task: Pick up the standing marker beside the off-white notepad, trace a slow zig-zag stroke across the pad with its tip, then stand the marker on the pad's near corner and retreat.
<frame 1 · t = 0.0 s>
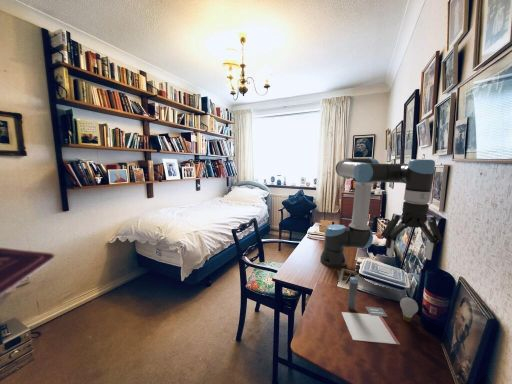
hand: (408, 257, 81), 28 cm above the table, fingers open, 13 cm apart
word card: (376, 312, 91), on the table
notepad: (367, 327, 83), on the table
marker: (351, 308, 93), on the table
light bulb: (406, 321, 87), on the table
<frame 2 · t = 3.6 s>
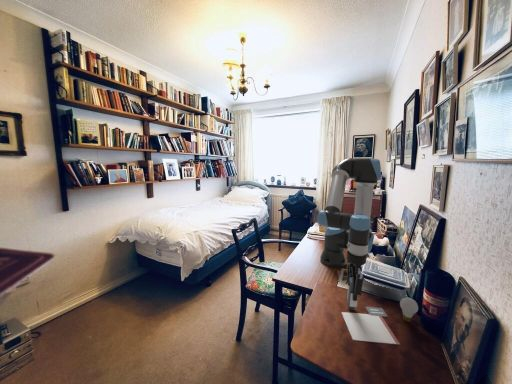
hand: (351, 303, 93), 3 cm above the table, fingers closed on marker, 3 cm apart
marker: (351, 308, 93), on the table, touching gripper
everything else where it was.
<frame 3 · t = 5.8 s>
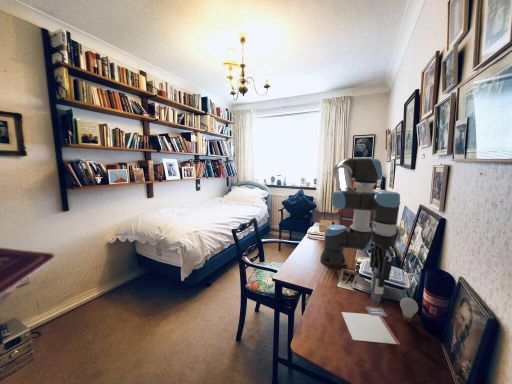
hand: (376, 290, 83), 14 cm above the table, fingers closed on marker, 3 cm apart
marker: (375, 302, 84), point 9 cm above the table, touching gripper
everything else where it was.
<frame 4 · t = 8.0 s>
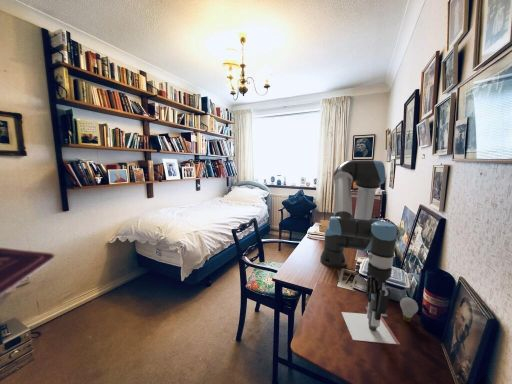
hand: (372, 321, 82), 3 cm above the table, fingers closed on marker, 3 cm apart
marker: (372, 328, 82), resting on notepad, touching gripper
everything else where it was.
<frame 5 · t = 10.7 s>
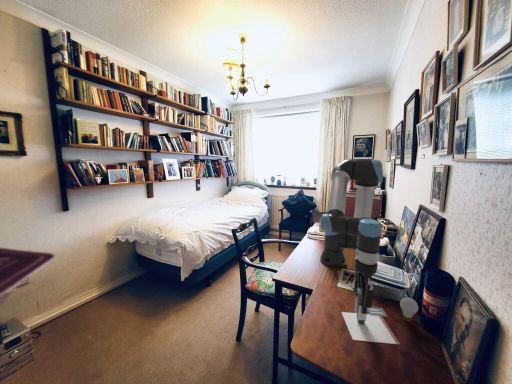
hand: (360, 315, 85), 3 cm above the table, fingers closed on marker, 3 cm apart
marker: (361, 321, 85), resting on notepad, touching gripper
everything else where it was.
when the fingers open (3 cm above the table, at t = 12.4 s): marker stays where it is, resting on notepad.
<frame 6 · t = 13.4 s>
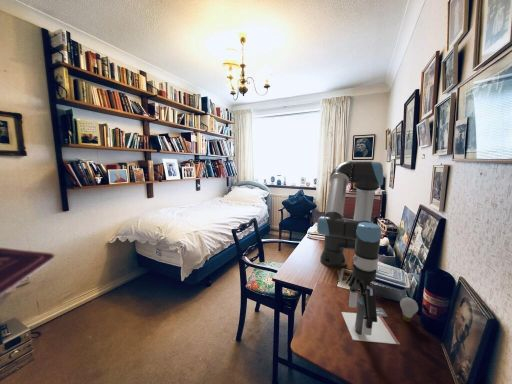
hand: (358, 319, 80), 5 cm above the table, fingers open, 13 cm apart
marker: (359, 331, 81), resting on notepad
everything else where it was.
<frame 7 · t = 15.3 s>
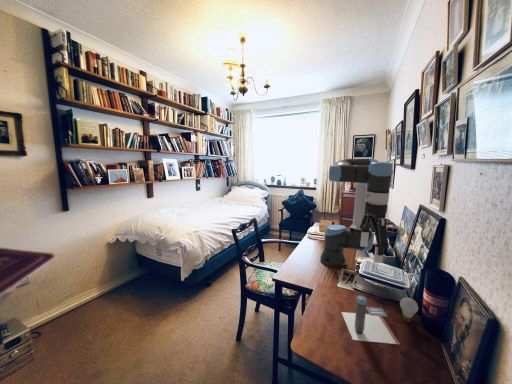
hand: (370, 253, 86), 27 cm above the table, fingers open, 13 cm apart
nothing on the table moved.
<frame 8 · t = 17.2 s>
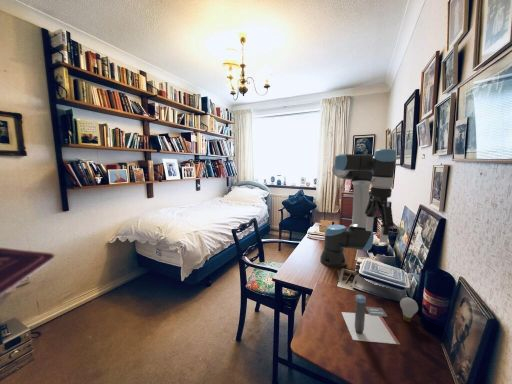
hand: (375, 236, 92), 32 cm above the table, fingers open, 13 cm apart
nothing on the table moved.
at the end: marker inside the target area on the notepad (5.3 cm from its centre), point 0.3 cm above the notepad's base; marker tilted 3°; the gripper is holding nothing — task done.
